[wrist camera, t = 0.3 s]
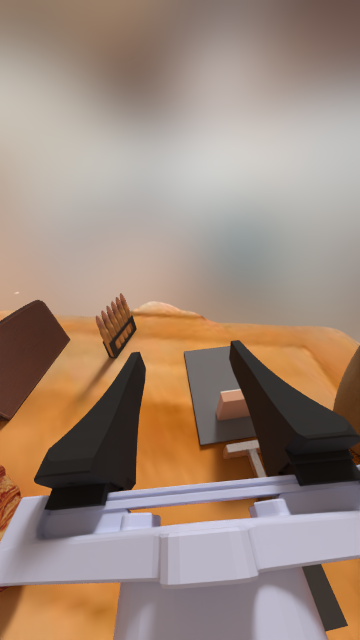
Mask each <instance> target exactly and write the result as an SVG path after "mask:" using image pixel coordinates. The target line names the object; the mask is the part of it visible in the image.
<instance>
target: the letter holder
mask: <svg viewBox="0 0 360 640" xmlns="http://www.w3.org/2000/svg"><path fill="white" fill-rule="evenodd" d="M69 341H70V338H69V337H68V336H67V334H66V333H65V331H64V330H63V328H62V327H61V326H60V324H59V323H58V321H57V320H56V318H55V317H54V315H53V314H52V313H51V311H50V310H49V308H48V307H47V306H46V304H45V303H44V302H43V301H40V300H35V301H33V302H31V303H29V304H27V305H25V306H23V307H22V308H20V309H18V310H17V311H15V312H13V313H12V314H10V315H9V316H7V317H6V318H4V319H3V320H1V321H0V421H9V420H11V419H12V417H13V416H14V414H15V413H16V411H17V410H18V409H19V407H20V406H21V405H22V403H23V402H24V401H25V399H26V398H27V397H28V395H29V394H30V393H31V391H32V390H33V389H34V387H35V386H36V385H37V383H38V382H39V381H40V379H41V378H42V377H43V375H44V374H45V373H46V371H47V370H48V369H49V367H50V366H51V365H52V363H53V362H54V361H55V359H56V358H57V357H58V355H59V354H60V353H61V351H62V350H63V349H64V347H65V346H66V345H67V343H68V342H69Z"/></svg>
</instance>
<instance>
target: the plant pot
mask: <svg viewBox="0 0 360 640" xmlns="http://www.w3.org/2000/svg"><path fill="white" fill-rule="evenodd" d="M333 412H335V413H337V414H339V415H341V416H342V417H344V418H345V419H346V420H347V421H348V422H349V423H350V424H351V425H352V427H353V428H354V429H355V430H356V432H357V433H358V434H359V435H360V346H359V347H358V349H357V351H356V352H355V354H354V356H353V357H352V359H351V361H350V363H349V365H348V367H347V369H346V371H345V373H344V375H343V377H342V380H341V382H340V385H339V388H338V391H337V394H336V398H335V403H334V408H333ZM350 449H351V450H352V451H354V452H355V453H356V454H357V455H359V456H360V442H359V443H358V444H356V445H354V446H353V447H351V448H350Z"/></svg>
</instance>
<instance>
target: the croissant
mask: <svg viewBox="0 0 360 640" xmlns="http://www.w3.org/2000/svg"><path fill="white" fill-rule="evenodd" d="M21 499H22V498H21V496H20V490H19V489H18V487H17V486H16V485H14V483H13V482H12V481H11V480H10V478H9V476H8V475H6V473H5V468H4V467H3V466H1V465H0V541H1V539H2V537H3V535H4V533H5V531H6V529H7V527H8V525H9V523H10V521H11V519H12V517H13V515H14V513H15V511H16V509H17V507H18V505H19V503H20V501H21ZM7 587H10V586H0V592H1V591H3V590H4V589H6V588H7Z"/></svg>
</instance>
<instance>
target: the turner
mask: <svg viewBox="0 0 360 640" xmlns="http://www.w3.org/2000/svg"><path fill="white" fill-rule="evenodd" d="M222 453H223V457H224V459H229V458H235V457H240V456H246V455H247V456H248V459H249V462H250V464H251V467H252V470H253V473H254V476H255V478H264V477H266V475H265V472H264V469H263V467H262V464H261V462H260V459H259V456H258V453H261V451H260V447H259V444H258V440H253V441H247V442H241V443H235V444H228V445H226V446H225V448H224V450H223V452H222ZM276 497H277V496H271V497H260V498H258V499H259V502H260V501H266V500H272V499H276ZM302 569H303V572H304V575H305V577H306V580H307V583H308V586H309V588H310V591H311V594H312V597H313V599H314V602H315V605H316V608H317V610H318V613H319V616H320V619H321V621H322V624H323V627H324V630H325V631H329V630H333V629H337V628H341V627H345V626H348V625H347V622H346V620H345V618H344V615H343V613H342V611H341V609H340V606H339V604H338V602H337V600H336V597H335V595H334V593H333V591H332V588H331V586H330V584H329V581H328V579H327V577H326V575H325V572H324V570H323V568H322V566H321V564H316V565H309V566H302Z"/></svg>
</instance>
